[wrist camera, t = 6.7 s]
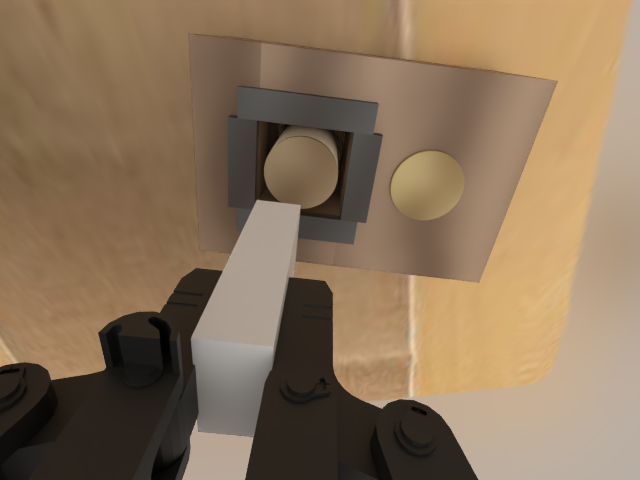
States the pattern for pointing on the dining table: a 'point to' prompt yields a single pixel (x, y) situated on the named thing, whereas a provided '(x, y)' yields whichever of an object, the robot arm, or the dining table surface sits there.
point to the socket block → (365, 151)
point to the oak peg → (303, 166)
